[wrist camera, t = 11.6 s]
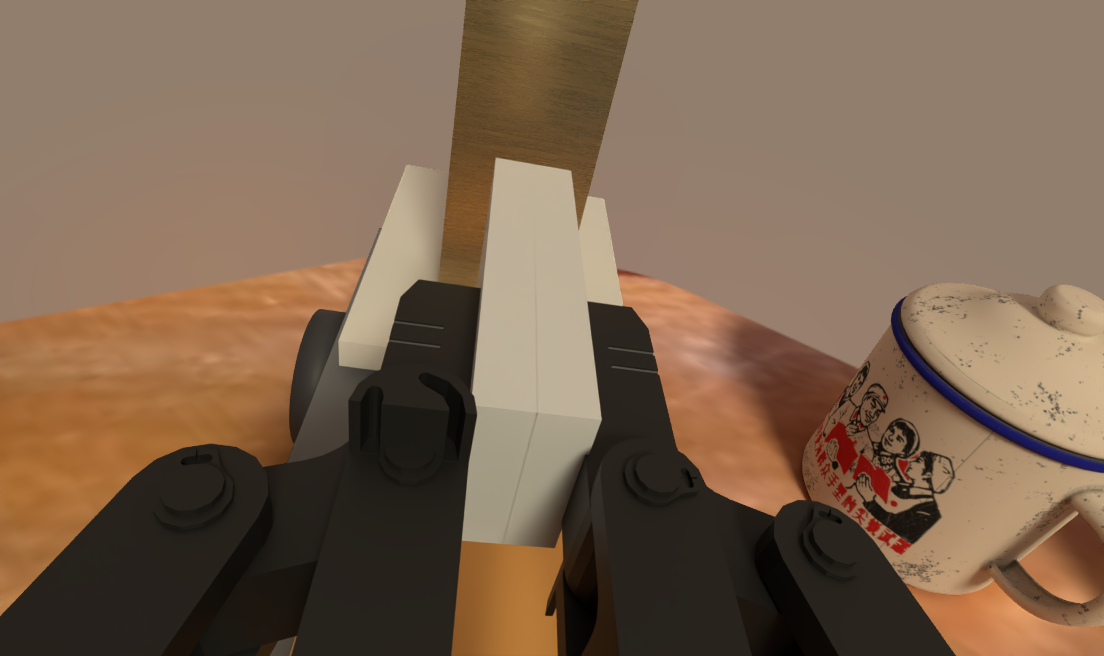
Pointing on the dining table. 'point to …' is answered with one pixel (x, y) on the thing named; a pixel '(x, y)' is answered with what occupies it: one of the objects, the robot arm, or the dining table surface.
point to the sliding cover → (501, 153)
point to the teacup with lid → (973, 439)
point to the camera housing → (485, 568)
